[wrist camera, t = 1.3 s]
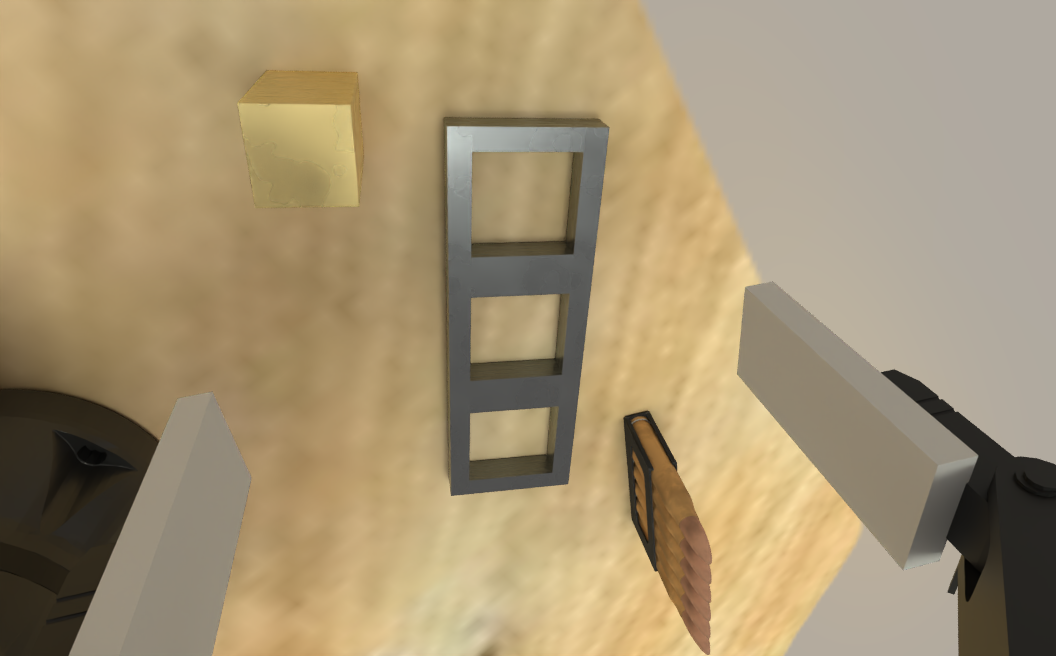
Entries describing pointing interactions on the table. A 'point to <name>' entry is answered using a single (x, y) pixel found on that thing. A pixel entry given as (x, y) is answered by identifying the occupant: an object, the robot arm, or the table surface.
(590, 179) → the grey slotted plate
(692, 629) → the ammunition clip
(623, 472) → the table surface
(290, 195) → the block
